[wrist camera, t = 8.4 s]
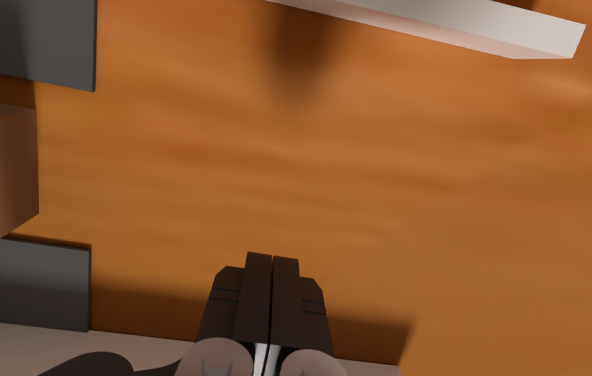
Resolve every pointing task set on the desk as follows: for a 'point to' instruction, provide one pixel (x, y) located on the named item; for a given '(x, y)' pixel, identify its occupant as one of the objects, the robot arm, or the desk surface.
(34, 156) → the walnut block
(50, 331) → the box
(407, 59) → the desk surface
